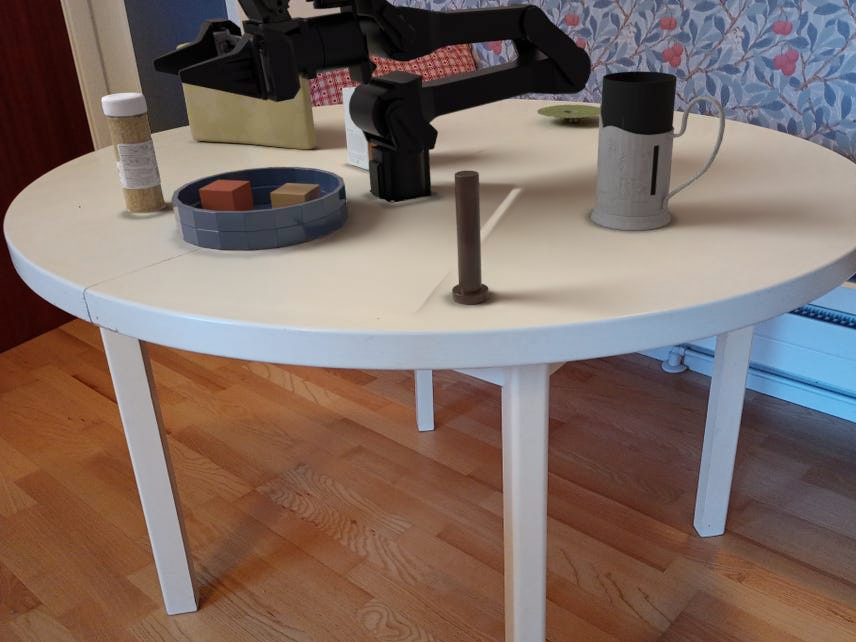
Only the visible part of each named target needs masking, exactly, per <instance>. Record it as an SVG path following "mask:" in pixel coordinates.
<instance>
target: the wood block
mask: <svg viewBox="0 0 856 642" xmlns="http://www.w3.org/2000/svg"><path fill="white" fill-rule="evenodd" d="M270 195H271V202H272V209H275V208H280V207H286V206H292V205H297V204H301V203H305V202H308V201H312V200H315V199H319V198H321V189H320V185H318V184H296V183H286V184H285V185H283V186H281V187H280V188H278V189H276V190H274V191H273V192H271V193H270Z"/></svg>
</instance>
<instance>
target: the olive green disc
mask: <svg viewBox="0 0 856 642" xmlns="http://www.w3.org/2000/svg"><path fill="white" fill-rule="evenodd" d="M536 112H537V114H539V115H541V116H543V117H545V116H546V117H551V118H552V117H553V118H564V121H565V122H569V123H571V124H572V123H573V122H574V123H577V121H578V118H590V117H597V116H600V106H599V107H598V106H592V105H586V104H559V105H558V104H557V105H550V106H545V107H541V108H538V109H537V111H536Z"/></svg>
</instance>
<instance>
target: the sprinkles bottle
mask: <svg viewBox="0 0 856 642" xmlns="http://www.w3.org/2000/svg"><path fill="white" fill-rule="evenodd" d="M101 106H102V111H103V114H104V115H105V118H106V120H107V125H108V130H109V132H110V139H111V142H112V147H113V153H114V157H115V158H114V159H115V163H116V168H117V172H118V176H119V177H118V178H119V180H120V185H121V187H122V192H123V196H124V200H125V205H126V212H127V213H131V214H149V213H153V212H157V211H160V210H163V209H164V208H166V207H167V204H166V202H165V198H164V193H163V190H162V179H161V174H160V171H159V165H158V160H157V155H156V150H155V145H154V141H153V137H152V133H151V129H150V123H149V119H148V112H147V111H148V105H147V101H146V98H145V95H144V94H143V93H140V92H119V93H113V94H108V95H104V96H102V97H101Z"/></svg>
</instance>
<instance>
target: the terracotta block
mask: <svg viewBox="0 0 856 642" xmlns="http://www.w3.org/2000/svg"><path fill="white" fill-rule="evenodd" d="M199 192H200V197H201V202H202V208H203V209H205V210H214V211H253V210H254V205H253V199H252V192H251V186H250V181H233V180H217V181H215V182H213V183H211V184H209V185H207V186H205V187H203V188H201V189H199Z"/></svg>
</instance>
